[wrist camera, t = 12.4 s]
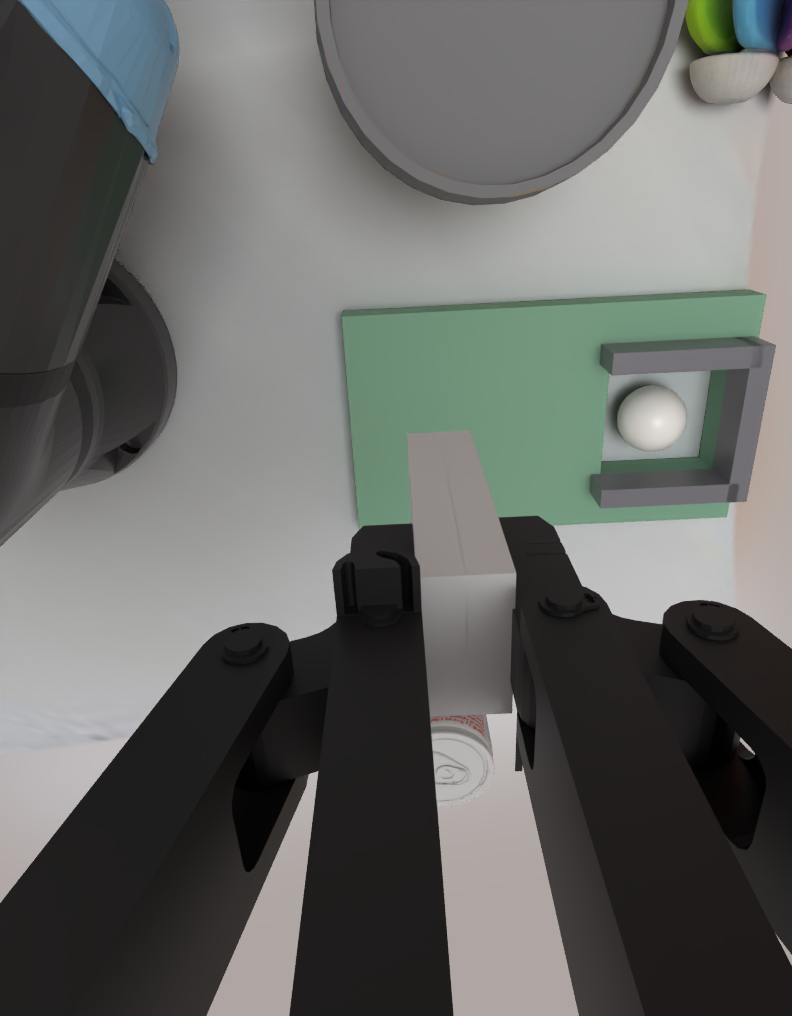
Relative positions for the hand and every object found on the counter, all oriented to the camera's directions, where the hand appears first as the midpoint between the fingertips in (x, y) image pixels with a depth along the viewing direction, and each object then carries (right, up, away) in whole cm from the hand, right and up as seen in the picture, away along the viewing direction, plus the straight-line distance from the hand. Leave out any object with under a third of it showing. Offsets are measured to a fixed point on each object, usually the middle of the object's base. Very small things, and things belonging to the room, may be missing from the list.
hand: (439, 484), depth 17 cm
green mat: (+8, +5, +27) cm, 28 cm away
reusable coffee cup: (+2, +22, +19) cm, 29 cm away
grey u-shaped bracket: (+15, +5, +25) cm, 29 cm away
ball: (+16, +5, +25) cm, 31 cm away
